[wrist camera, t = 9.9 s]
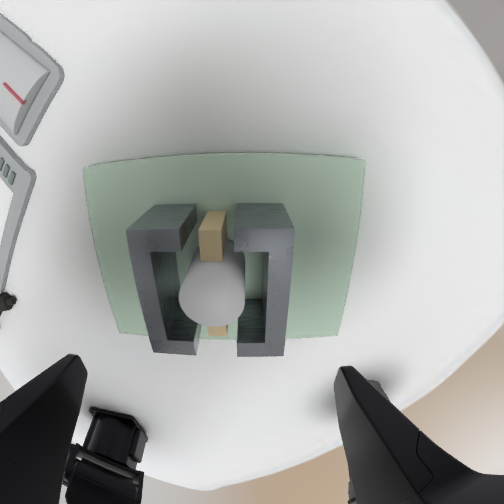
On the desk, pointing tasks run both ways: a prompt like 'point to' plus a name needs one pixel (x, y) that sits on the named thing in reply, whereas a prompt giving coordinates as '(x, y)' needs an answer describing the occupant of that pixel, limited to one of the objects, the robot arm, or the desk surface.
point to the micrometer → (6, 302)
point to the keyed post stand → (232, 233)
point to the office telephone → (21, 121)
